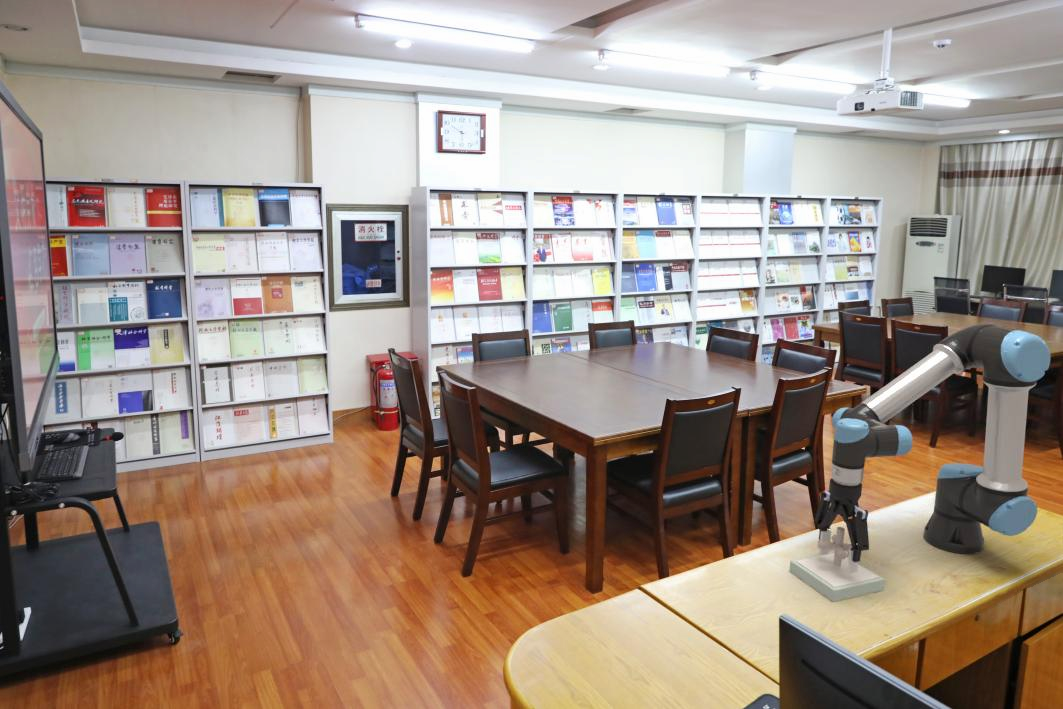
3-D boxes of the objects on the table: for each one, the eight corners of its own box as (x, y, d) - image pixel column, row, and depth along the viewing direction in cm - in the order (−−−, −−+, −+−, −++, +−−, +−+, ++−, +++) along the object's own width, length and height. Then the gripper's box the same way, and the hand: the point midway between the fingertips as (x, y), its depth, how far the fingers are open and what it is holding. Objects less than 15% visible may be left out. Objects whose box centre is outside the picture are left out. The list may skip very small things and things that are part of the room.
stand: (837, 561, 202) (838, 550, 201) (883, 590, 187) (885, 578, 187) (789, 571, 196) (790, 559, 196) (833, 601, 182) (834, 589, 181)
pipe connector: (862, 576, 185) (866, 539, 183) (820, 572, 187) (823, 535, 185) (853, 557, 195) (857, 522, 192) (813, 553, 197) (817, 518, 194)
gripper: (803, 467, 195) (796, 546, 199) (868, 499, 175) (858, 586, 179) (826, 463, 197) (819, 542, 202) (892, 494, 177) (882, 580, 182)
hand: (837, 562), depth 191 cm, fingers closed on pipe connector, 9 cm apart
